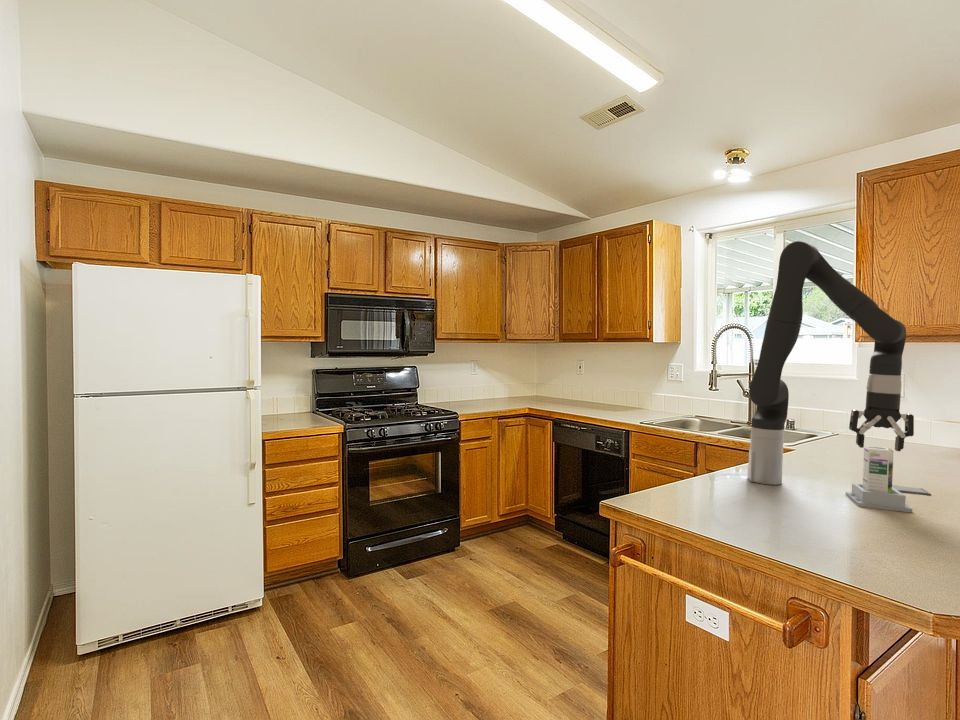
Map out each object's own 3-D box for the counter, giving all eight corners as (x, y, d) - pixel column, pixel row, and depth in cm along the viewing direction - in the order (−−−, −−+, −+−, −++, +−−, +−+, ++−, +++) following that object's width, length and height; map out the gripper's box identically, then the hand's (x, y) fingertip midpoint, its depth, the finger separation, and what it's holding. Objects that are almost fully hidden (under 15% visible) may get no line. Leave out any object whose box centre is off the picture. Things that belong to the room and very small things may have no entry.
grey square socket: (858, 506, 144) (858, 491, 144) (845, 495, 155) (846, 481, 155) (912, 512, 139) (913, 497, 139) (895, 500, 151) (895, 486, 151)
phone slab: (931, 497, 157) (931, 493, 157) (877, 491, 162) (878, 488, 162) (921, 491, 163) (922, 488, 163) (871, 486, 168) (871, 482, 168)
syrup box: (865, 500, 146) (868, 448, 145) (861, 495, 151) (864, 444, 151) (891, 503, 143) (894, 450, 143) (886, 498, 149) (888, 446, 148)
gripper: (857, 390, 145) (853, 448, 146) (921, 394, 140) (916, 454, 141) (849, 388, 152) (845, 443, 153) (909, 391, 147) (904, 449, 148)
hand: (879, 449), depth 147 cm, fingers open, 8 cm apart
